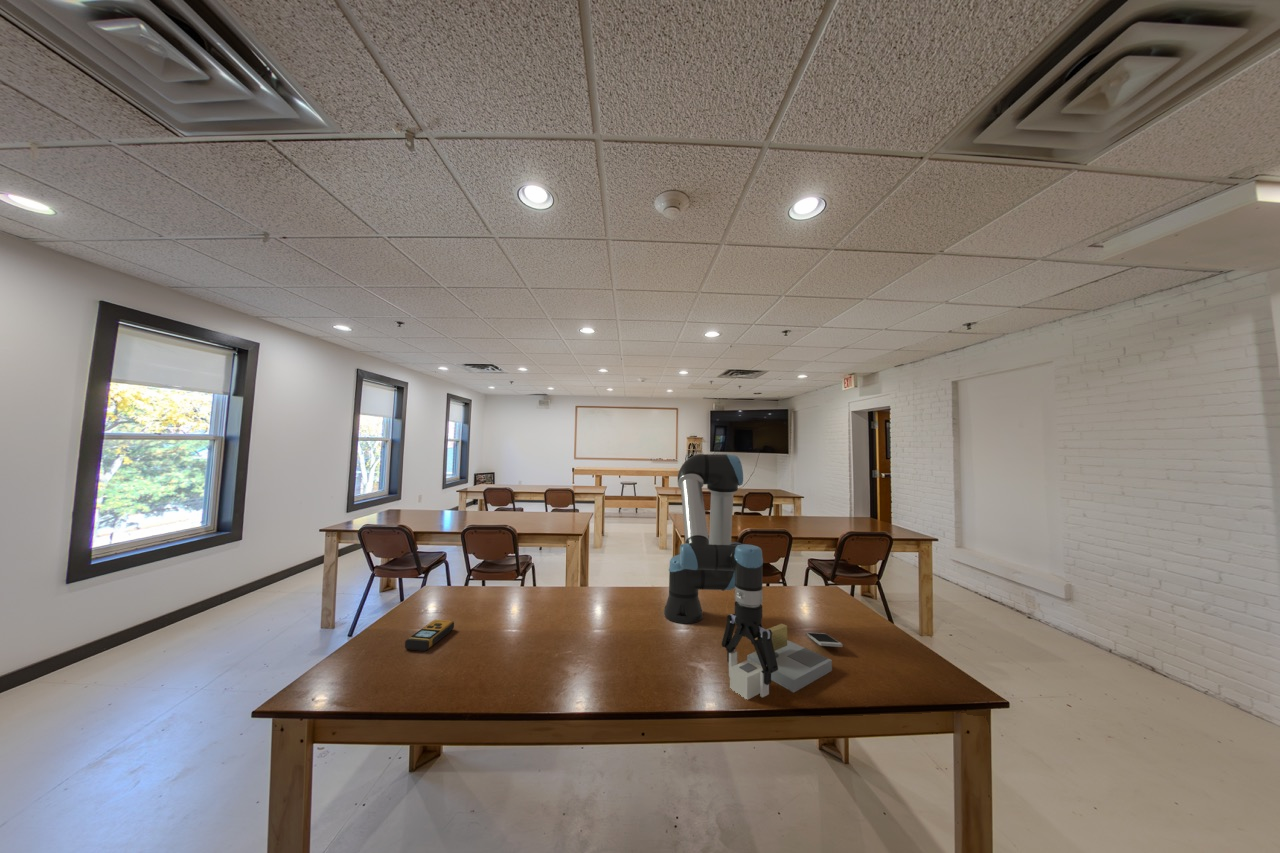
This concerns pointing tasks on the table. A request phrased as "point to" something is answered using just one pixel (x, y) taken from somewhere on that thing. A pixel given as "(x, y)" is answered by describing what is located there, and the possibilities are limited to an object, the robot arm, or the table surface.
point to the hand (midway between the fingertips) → (748, 685)
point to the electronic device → (429, 635)
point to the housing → (797, 666)
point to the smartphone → (824, 639)
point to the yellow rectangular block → (778, 636)
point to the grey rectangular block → (745, 679)
